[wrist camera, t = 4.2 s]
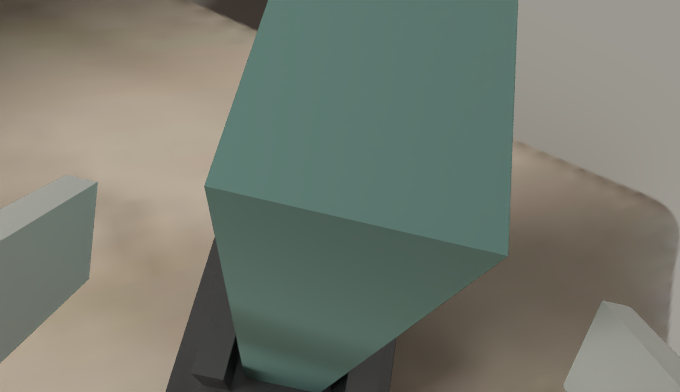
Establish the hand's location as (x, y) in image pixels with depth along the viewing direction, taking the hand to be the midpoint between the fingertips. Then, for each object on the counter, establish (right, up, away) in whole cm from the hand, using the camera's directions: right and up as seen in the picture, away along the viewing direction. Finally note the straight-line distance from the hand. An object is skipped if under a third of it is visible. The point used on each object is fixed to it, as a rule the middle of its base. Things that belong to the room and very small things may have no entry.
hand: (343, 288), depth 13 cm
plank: (-2, -3, +12) cm, 13 cm away
